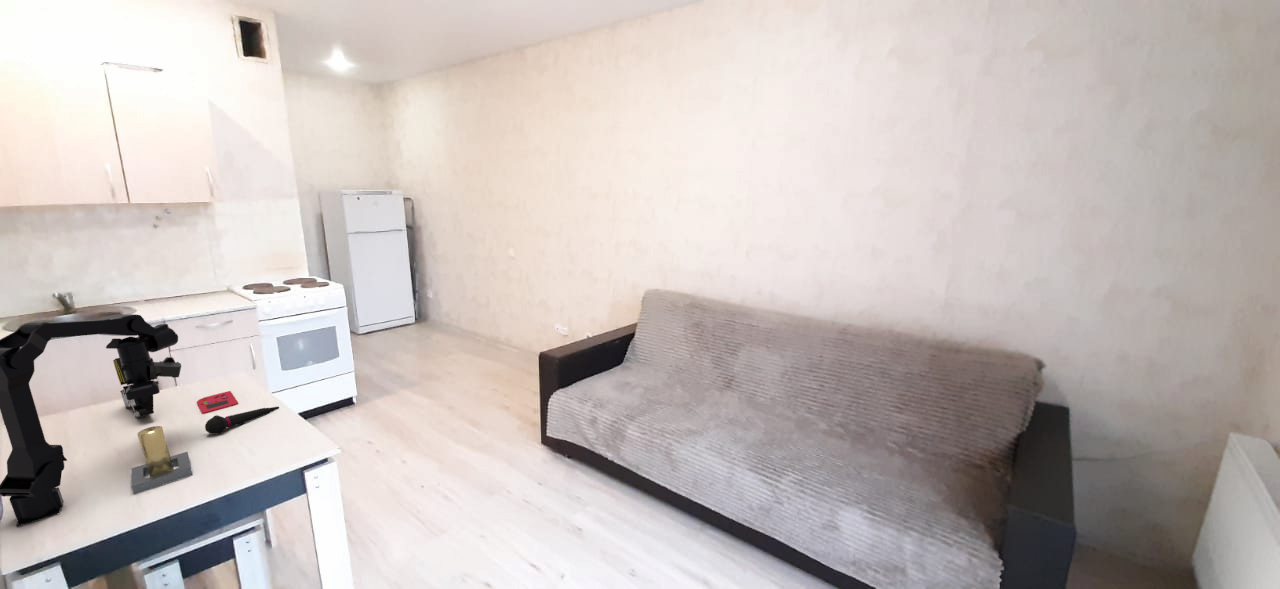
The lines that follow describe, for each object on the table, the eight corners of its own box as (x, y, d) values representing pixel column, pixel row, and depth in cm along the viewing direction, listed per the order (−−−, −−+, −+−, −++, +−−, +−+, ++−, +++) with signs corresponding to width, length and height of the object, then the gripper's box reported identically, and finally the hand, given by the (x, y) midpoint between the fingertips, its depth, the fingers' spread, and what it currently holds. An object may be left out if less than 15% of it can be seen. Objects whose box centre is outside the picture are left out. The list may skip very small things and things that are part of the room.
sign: (129, 418, 169) (109, 362, 168) (142, 414, 172) (123, 359, 171) (140, 417, 156) (118, 355, 155) (154, 413, 158) (133, 352, 157)
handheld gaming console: (230, 389, 180) (238, 402, 170) (230, 393, 180) (239, 406, 170) (195, 398, 173) (201, 412, 163) (196, 402, 174) (202, 416, 164)
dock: (133, 494, 123) (131, 486, 122) (133, 475, 131) (131, 468, 130) (192, 475, 130) (190, 467, 130) (189, 458, 138) (187, 451, 137)
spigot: (150, 483, 127) (137, 437, 124) (150, 475, 130) (137, 430, 127) (175, 475, 130) (162, 430, 127) (174, 468, 134) (161, 424, 130)
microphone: (276, 416, 168) (204, 438, 150) (271, 400, 168) (199, 419, 150) (285, 414, 166) (213, 436, 148) (281, 397, 166) (208, 417, 148)
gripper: (176, 359, 136) (190, 411, 140) (173, 343, 149) (186, 391, 153) (118, 371, 128) (135, 426, 132) (120, 353, 141) (135, 403, 145)
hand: (150, 410), depth 141 cm, fingers closed
